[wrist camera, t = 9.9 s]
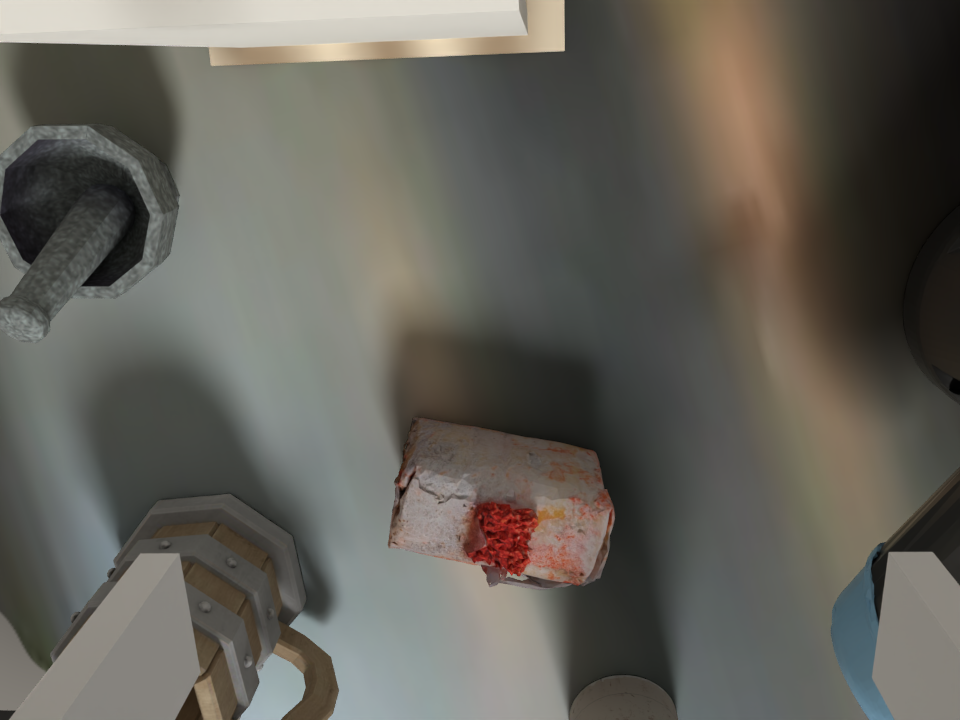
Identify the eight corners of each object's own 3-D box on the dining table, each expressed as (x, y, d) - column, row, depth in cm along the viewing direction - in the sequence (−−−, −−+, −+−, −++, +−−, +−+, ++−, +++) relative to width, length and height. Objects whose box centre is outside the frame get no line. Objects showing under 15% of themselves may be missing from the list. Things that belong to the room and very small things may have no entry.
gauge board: (527, -1, 47) (517, -73, 20) (528, 35, 48) (519, 10, 21) (239, 13, 48) (-133, -39, 21) (243, 47, 49) (-114, 39, 22)
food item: (616, 438, 57) (632, 512, 48) (591, 541, 60) (601, 631, 50) (413, 401, 57) (389, 468, 48) (396, 506, 60) (371, 589, 50)
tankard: (98, 582, 63) (-27, 734, 49) (185, 461, 60) (77, 587, 45) (322, 725, 66) (266, 906, 52) (419, 618, 63) (386, 782, 49)
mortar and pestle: (67, 92, 52) (-64, 103, 40) (218, 140, 52) (131, 165, 41) (43, 267, 55) (-83, 322, 44) (185, 311, 56) (96, 376, 45)
